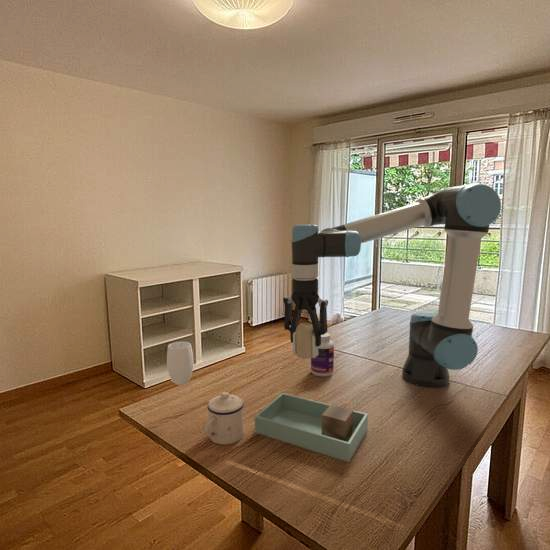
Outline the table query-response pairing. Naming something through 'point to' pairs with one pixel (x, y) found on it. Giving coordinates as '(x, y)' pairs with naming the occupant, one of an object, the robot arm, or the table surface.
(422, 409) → the table surface
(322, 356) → the pill bottle
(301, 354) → the candle
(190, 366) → the grey rounded cylinder
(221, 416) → the teacup with lid
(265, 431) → the tote
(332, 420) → the walnut block
